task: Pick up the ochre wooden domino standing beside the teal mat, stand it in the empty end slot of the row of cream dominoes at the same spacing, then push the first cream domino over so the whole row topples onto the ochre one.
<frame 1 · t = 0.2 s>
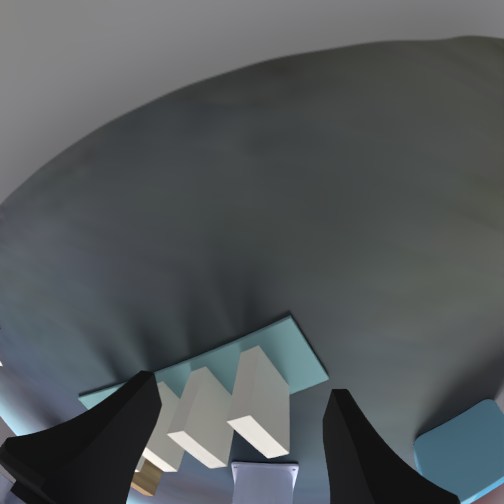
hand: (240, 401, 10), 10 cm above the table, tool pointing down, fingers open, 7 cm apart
cream domino 2: (215, 388, 22), resting on teal mat
cream domino 1: (266, 370, 21), resting on teal mat
teal mat: (175, 397, 24), on the table
data package: (451, 424, 24), on the table
cream domino 3: (173, 400, 24), resting on teal mat
ochre domino: (151, 444, 28), on the table
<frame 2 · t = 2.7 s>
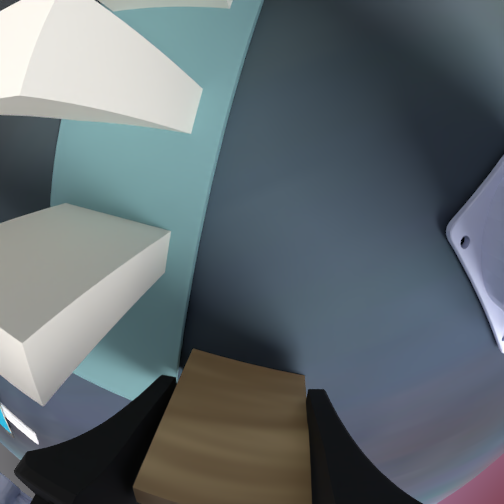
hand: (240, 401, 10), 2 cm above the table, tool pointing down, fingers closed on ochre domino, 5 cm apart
cream domino 4: (110, 235, 10), resting on teal mat
teal mat: (137, 105, 9), on the table
cream domino 3: (132, 103, 8), resting on teal mat
ochre domino: (245, 376, 12), on the table, touching gripper
phone stand: (4, 403, 19), on the table
when the fingers open (3 cm above the table, at t = 6.5 s): ochre domino stays where it is, resting on teal mat.
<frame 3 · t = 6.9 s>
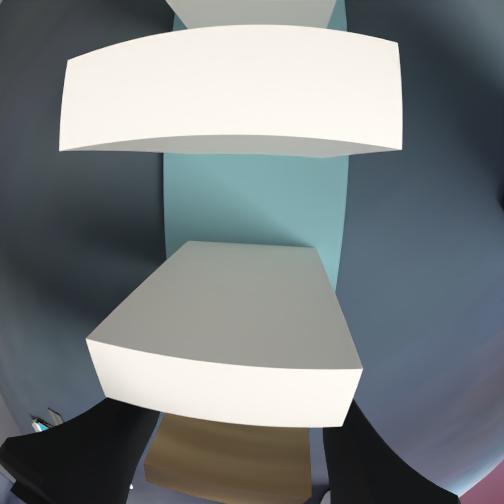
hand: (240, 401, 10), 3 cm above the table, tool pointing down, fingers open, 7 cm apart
cream domino 2: (258, 19, 8), resting on teal mat
cream domino 4: (250, 263, 11), resting on teal mat
photo printer: (338, 499, 19), on the table
teal mat: (255, 134, 10), on the table
cream domino 3: (254, 133, 10), resting on teal mat
ochre domino: (247, 363, 13), resting on teal mat
phone stand: (87, 458, 22), on the table
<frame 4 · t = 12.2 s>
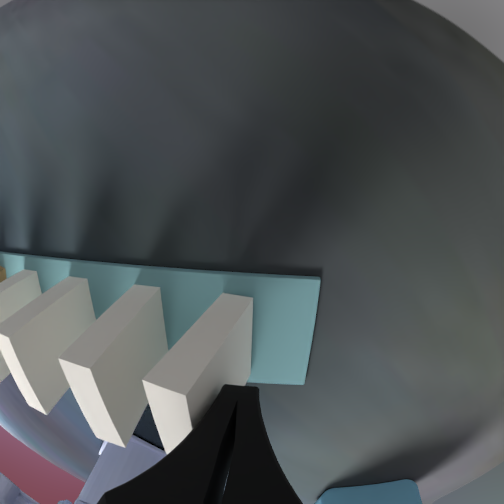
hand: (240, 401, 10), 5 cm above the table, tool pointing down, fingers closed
cream domino 2: (152, 325, 15), resting on teal mat
cream domino 4: (37, 302, 16), resting on teal mat
cream domino 1: (237, 336, 15), point 1 cm above the table, tilted 11°, touching teal mat
teal mat: (88, 310, 16), on the table
data package: (364, 490, 22), on the table
cream domino 3: (85, 313, 16), resting on teal mat
ochre domino: (4, 292, 17), resting on teal mat
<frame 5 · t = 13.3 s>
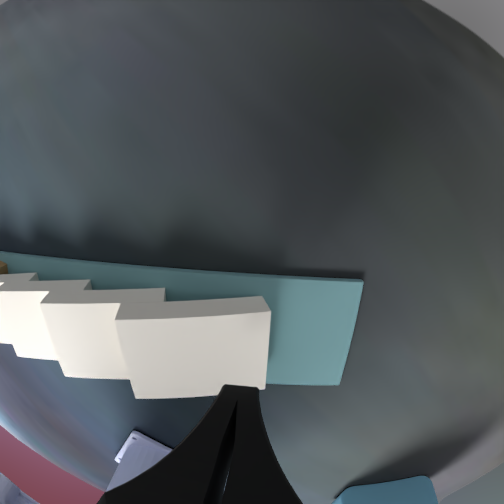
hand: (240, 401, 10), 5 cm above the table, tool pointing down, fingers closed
cream domino 2: (169, 335, 15), point 1 cm above the table, tilted 71°, touching cream domino 1, cream domino 3, teal mat
cream domino 4: (41, 309, 15), point 1 cm above the table, tilted 69°, touching cream domino 3, ochre domino, teal mat
cream domino 1: (263, 345, 14), point 1 cm above the table, tilted 72°, touching cream domino 2, teal mat
teal mat: (116, 315, 16), on the table
data package: (380, 487, 21), on the table
cream domino 3: (94, 322, 15), point 1 cm above the table, tilted 71°, touching cream domino 2, cream domino 4, teal mat
ochre domino: (4, 296, 16), point 1 cm above the table, tilted 90°, touching cream domino 4, teal mat
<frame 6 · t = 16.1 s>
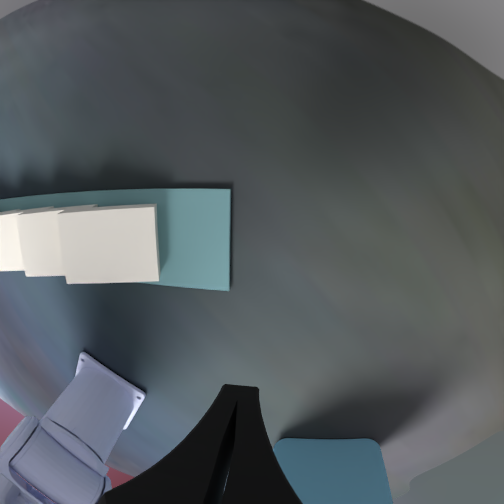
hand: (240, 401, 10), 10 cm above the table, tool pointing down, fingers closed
cream domino 2: (97, 239, 19), point 1 cm above the table, tilted 71°, touching cream domino 1, cream domino 3, teal mat
cream domino 1: (157, 242, 18), point 1 cm above the table, tilted 72°, touching cream domino 2, teal mat
teal mat: (68, 233, 20), on the table
data package: (323, 447, 26), on the table
cream domino 3: (53, 237, 19), point 1 cm above the table, tilted 71°, touching cream domino 2, cream domino 4, teal mat
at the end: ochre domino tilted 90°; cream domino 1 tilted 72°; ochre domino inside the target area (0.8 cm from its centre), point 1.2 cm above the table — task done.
